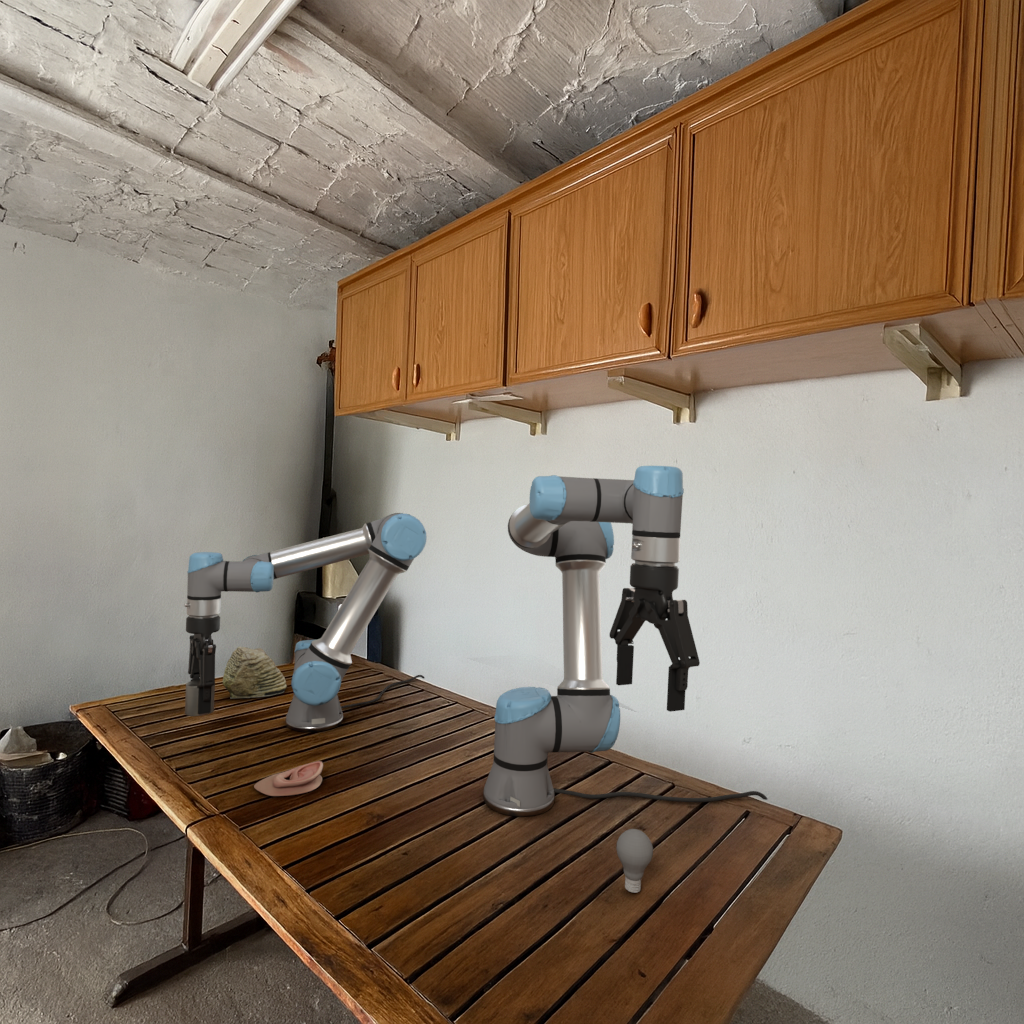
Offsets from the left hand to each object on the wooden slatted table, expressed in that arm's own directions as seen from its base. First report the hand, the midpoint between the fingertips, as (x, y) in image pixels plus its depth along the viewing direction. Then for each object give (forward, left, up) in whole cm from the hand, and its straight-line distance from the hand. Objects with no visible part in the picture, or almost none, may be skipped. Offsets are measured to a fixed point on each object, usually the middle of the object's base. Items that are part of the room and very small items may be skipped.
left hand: (199, 708), depth 156 cm
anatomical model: (-4, +33, -10) cm, 35 cm away
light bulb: (-22, +107, -10) cm, 110 cm away
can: (0, 0, -1) cm, 1 cm away
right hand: (-18, +110, +24) cm, 114 cm away
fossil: (-31, -29, -10) cm, 43 cm away
